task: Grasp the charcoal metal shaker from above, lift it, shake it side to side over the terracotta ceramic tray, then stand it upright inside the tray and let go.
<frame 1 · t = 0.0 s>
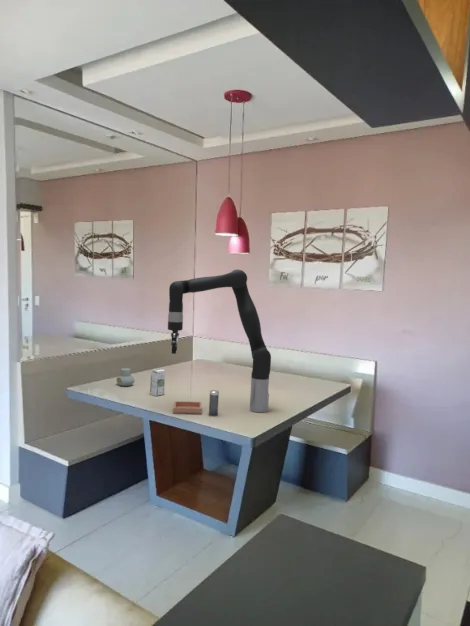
hand: (174, 352, 239), 29 cm above the table, tool pointing down, fingers open, 8 cm apart
shaker: (213, 414, 233), on the table
air freshener: (125, 385, 284), on the table
syrup box: (157, 395, 266), on the table
tray: (187, 410, 238), on the table
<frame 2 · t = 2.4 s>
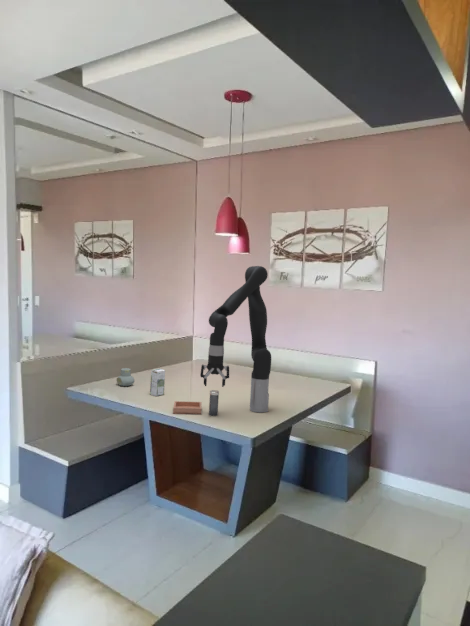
hand: (214, 386, 232), 15 cm above the table, tool pointing down, fingers open, 8 cm apart
nothing on the table moved.
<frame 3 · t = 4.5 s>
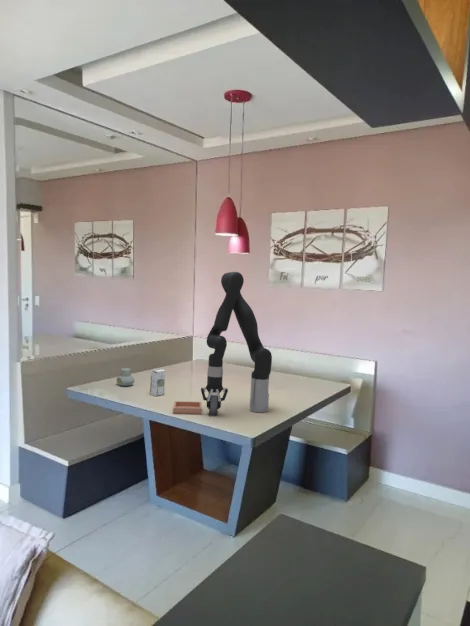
hand: (213, 408, 233), 3 cm above the table, tool pointing down, fingers closed on shaker, 4 cm apart
shaker: (213, 414, 233), on the table, touching gripper
everything else where it was.
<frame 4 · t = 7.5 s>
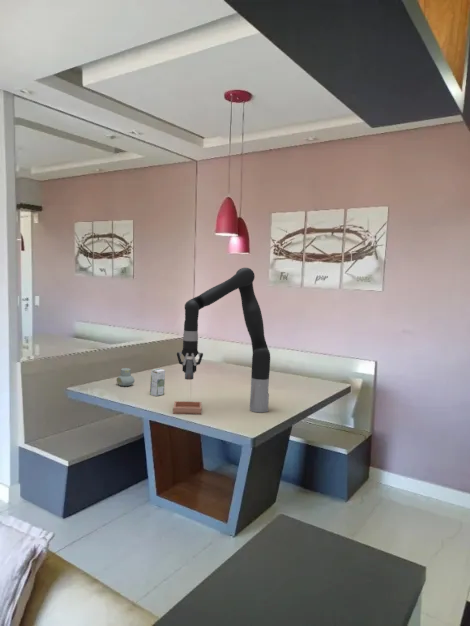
hand: (189, 372, 240), 19 cm above the table, tool pointing down, fingers closed on shaker, 4 cm apart
shaker: (189, 378, 240), point 16 cm above the table, touching gripper
everything else where it was.
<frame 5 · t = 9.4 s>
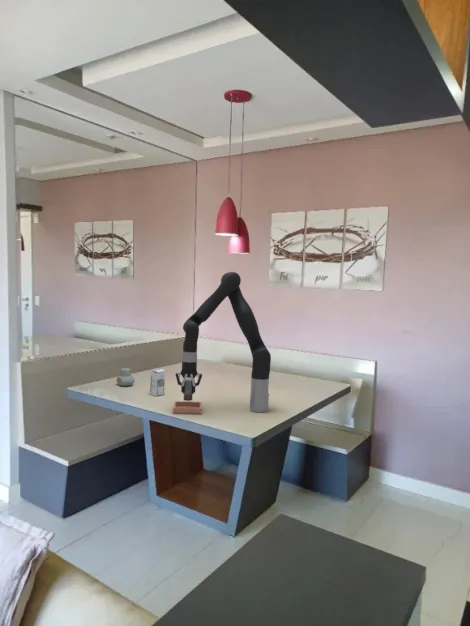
hand: (188, 393, 238), 9 cm above the table, tool pointing down, fingers closed on shaker, 4 cm apart
shaker: (187, 399, 238), point 6 cm above the table, touching gripper
everything else where it was.
when the fingers open (5 cm above the table, at t = 11.0 s): shaker stays where it is, resting on tray.
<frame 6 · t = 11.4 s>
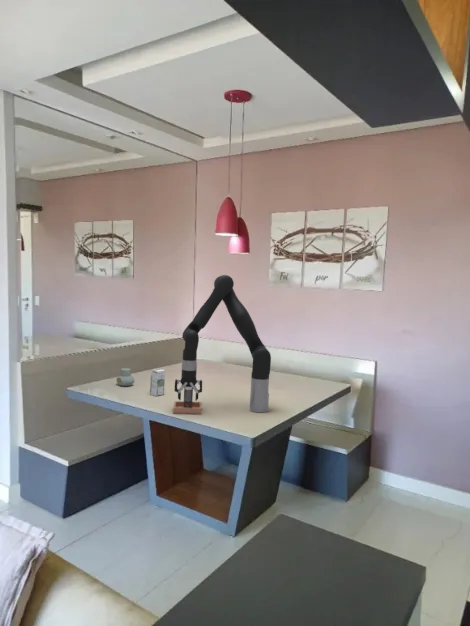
hand: (187, 400, 238), 6 cm above the table, tool pointing down, fingers open, 8 cm apart
shaker: (187, 409, 238), point 1 cm above the table, touching tray
everything else where it was.
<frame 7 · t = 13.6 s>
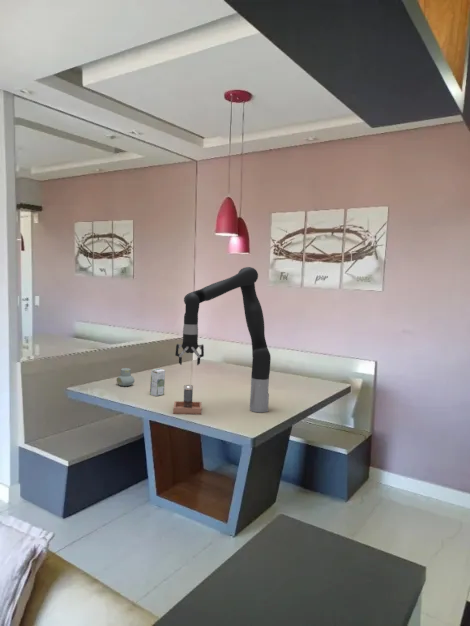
hand: (189, 364, 236), 24 cm above the table, tool pointing down, fingers open, 8 cm apart
nothing on the table moved.
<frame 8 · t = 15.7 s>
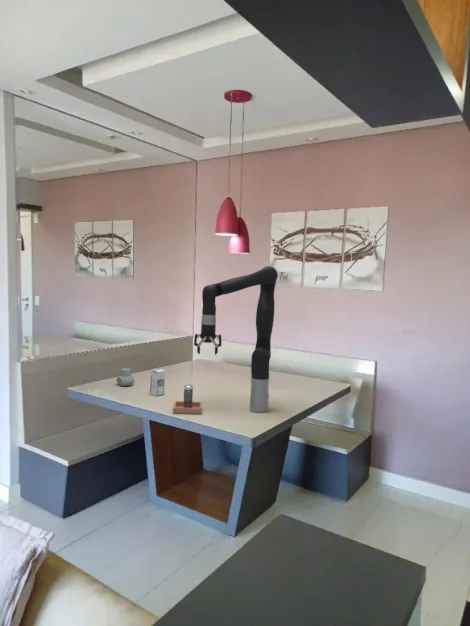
hand: (207, 354, 245), 28 cm above the table, tool pointing down, fingers open, 8 cm apart
nothing on the table moved.
at the end: shaker inside the target area on the tray (0.1 cm from its centre), point 0.8 cm above the tray's base; shaker tilted 1°; the gripper is holding nothing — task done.
